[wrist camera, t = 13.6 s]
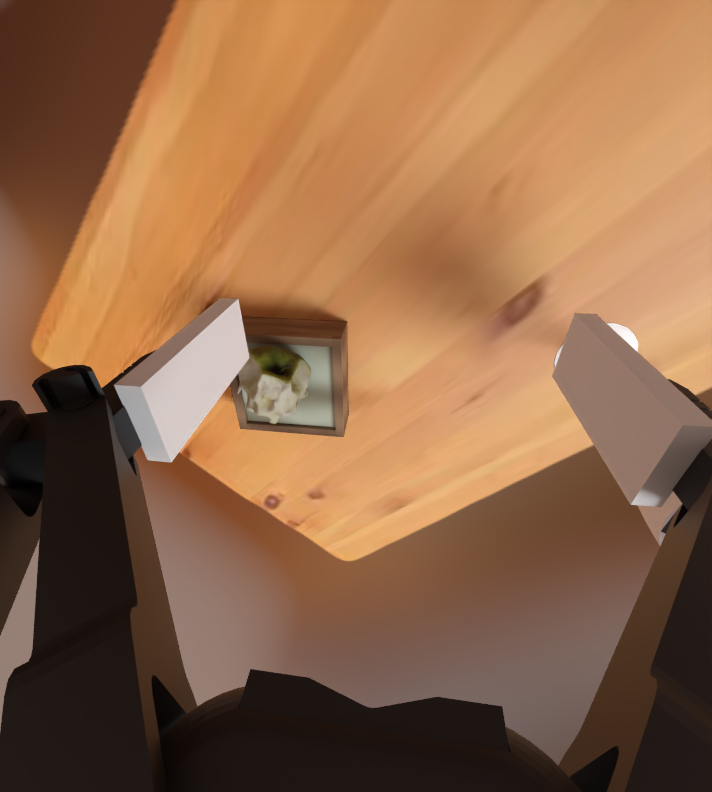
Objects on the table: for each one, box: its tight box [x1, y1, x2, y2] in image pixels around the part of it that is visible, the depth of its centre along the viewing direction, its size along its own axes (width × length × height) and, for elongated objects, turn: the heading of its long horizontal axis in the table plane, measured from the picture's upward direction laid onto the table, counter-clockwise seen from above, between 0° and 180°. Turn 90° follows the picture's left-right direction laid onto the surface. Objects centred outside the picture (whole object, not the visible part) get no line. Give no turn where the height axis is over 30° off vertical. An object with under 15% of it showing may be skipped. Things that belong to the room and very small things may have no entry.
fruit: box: [237, 346, 311, 424], centre depth 41 cm, size 9×9×8 cm
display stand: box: [230, 317, 349, 437], centre depth 46 cm, size 14×14×5 cm
